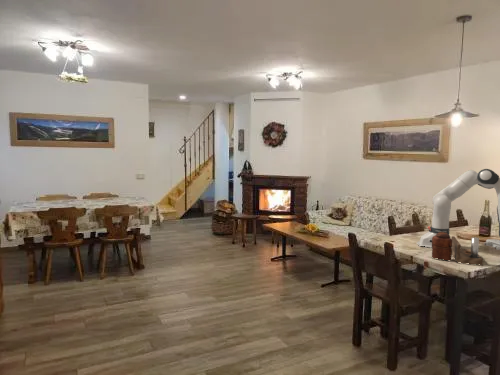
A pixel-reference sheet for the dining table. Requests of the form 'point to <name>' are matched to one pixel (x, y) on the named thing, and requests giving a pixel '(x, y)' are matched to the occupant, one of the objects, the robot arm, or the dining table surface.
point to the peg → (474, 247)
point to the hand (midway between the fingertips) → (490, 246)
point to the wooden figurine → (442, 246)
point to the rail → (463, 254)
